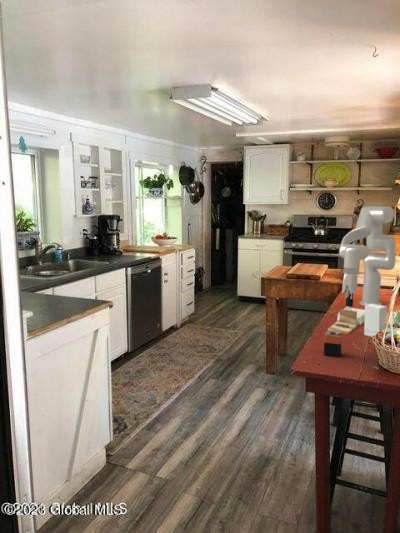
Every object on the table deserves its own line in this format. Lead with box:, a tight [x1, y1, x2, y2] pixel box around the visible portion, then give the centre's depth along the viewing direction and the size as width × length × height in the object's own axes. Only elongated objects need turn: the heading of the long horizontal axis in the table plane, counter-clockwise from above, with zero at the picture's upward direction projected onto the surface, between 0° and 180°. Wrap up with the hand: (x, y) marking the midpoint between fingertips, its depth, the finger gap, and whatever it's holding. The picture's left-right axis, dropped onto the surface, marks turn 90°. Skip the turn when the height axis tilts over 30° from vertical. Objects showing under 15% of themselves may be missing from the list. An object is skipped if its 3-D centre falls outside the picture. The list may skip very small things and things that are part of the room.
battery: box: [323, 330, 343, 358], centre depth 180 cm, size 4×7×10 cm, turn 71°
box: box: [336, 306, 365, 326], centre depth 231 cm, size 18×12×4 cm, turn 144°
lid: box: [327, 308, 359, 335], centre depth 216 cm, size 17×10×8 cm, turn 144°
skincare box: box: [363, 304, 388, 338], centre depth 203 cm, size 8×6×15 cm
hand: (349, 306), depth 221 cm, fingers closed
